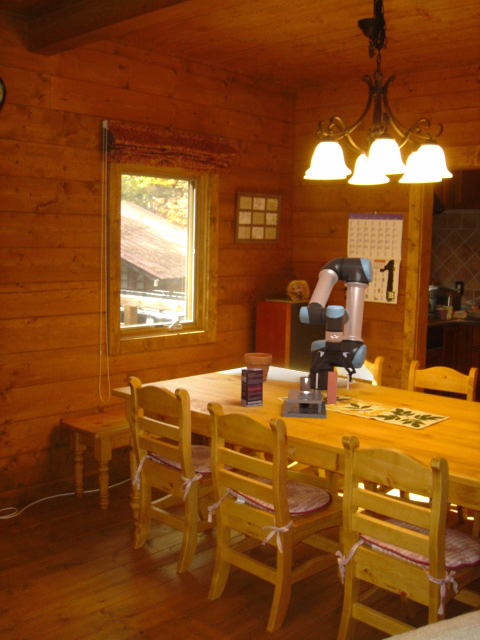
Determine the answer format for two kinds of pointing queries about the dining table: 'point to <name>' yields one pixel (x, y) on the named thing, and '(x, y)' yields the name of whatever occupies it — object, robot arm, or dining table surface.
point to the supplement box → (252, 387)
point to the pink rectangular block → (332, 388)
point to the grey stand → (304, 402)
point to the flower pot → (258, 362)
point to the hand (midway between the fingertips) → (332, 388)
